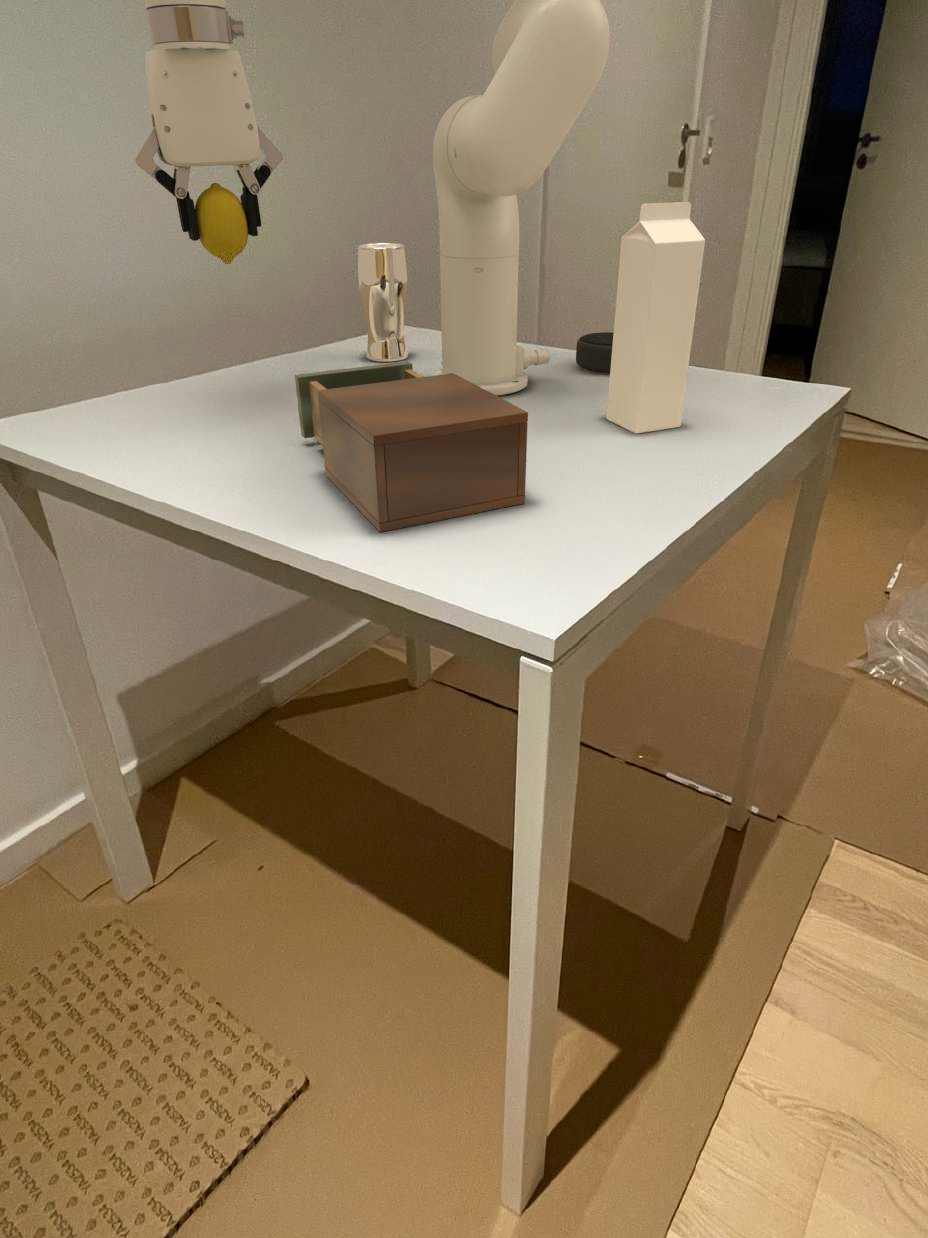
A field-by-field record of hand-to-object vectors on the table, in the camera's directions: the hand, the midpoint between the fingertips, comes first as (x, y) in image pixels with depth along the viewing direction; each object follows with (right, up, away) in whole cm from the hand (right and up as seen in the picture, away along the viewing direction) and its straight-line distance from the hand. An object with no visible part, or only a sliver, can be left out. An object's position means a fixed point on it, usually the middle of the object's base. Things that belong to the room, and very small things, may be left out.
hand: (223, 235), depth 89 cm
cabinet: (+22, -30, -14) cm, 40 cm away
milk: (+46, -20, +2) cm, 51 cm away
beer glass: (+15, -4, +31) cm, 34 cm away
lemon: (0, -3, +2) cm, 3 cm away
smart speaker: (+46, -7, +24) cm, 53 cm away
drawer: (+16, -23, -4) cm, 28 cm away
